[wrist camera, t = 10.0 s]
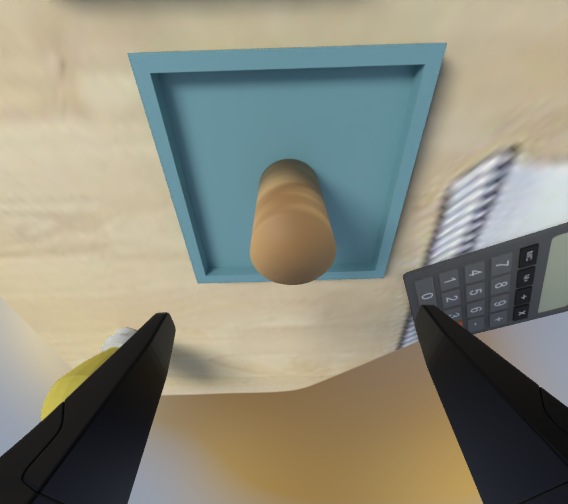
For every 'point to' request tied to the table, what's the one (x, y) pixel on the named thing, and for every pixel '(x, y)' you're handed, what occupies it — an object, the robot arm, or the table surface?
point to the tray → (288, 142)
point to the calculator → (498, 282)
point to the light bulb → (83, 371)
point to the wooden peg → (291, 225)
